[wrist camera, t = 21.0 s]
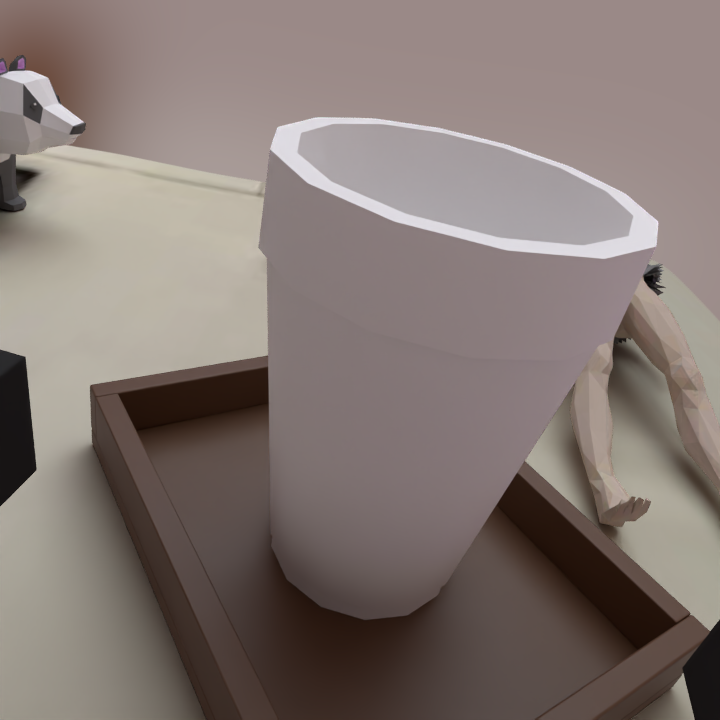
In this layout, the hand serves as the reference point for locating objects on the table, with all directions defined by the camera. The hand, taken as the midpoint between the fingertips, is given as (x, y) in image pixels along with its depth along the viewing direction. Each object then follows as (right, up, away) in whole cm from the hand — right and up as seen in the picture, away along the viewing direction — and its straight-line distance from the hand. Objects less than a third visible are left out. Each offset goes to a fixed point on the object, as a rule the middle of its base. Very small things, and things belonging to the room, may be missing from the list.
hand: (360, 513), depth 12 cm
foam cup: (0, -4, +11) cm, 11 cm away
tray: (0, -4, +11) cm, 12 cm away
